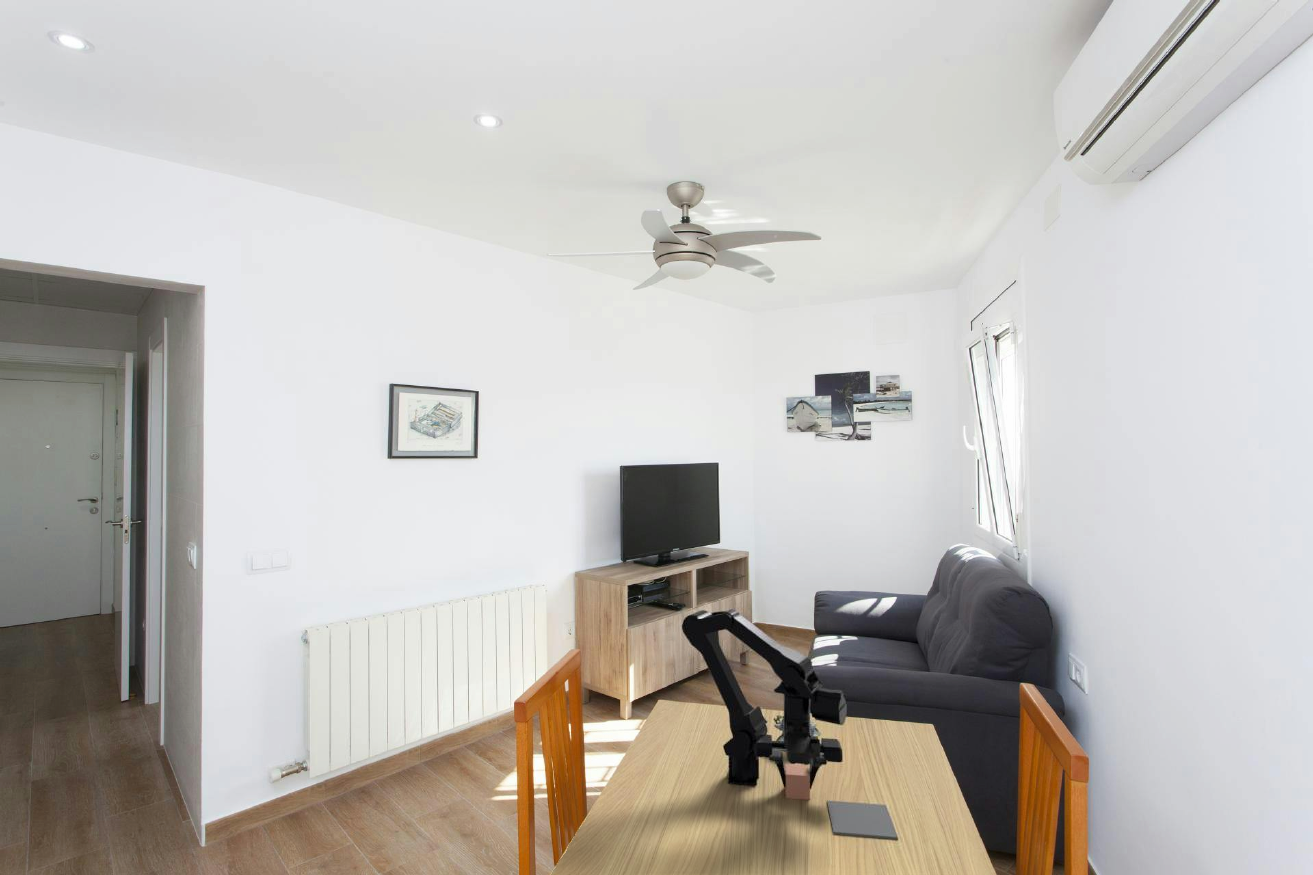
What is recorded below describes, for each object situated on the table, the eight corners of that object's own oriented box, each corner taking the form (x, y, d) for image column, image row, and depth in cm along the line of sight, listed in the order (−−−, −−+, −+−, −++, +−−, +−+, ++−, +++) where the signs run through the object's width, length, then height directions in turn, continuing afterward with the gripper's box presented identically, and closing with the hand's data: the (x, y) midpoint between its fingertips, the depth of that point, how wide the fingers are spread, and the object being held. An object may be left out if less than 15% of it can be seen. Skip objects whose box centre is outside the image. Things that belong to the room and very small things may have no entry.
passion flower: (799, 777, 162) (778, 744, 158) (779, 750, 172) (758, 718, 169) (835, 748, 164) (814, 714, 160) (812, 723, 174) (792, 691, 171)
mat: (833, 833, 128) (833, 831, 128) (827, 802, 140) (827, 800, 140) (898, 839, 126) (898, 837, 126) (885, 806, 138) (885, 804, 138)
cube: (786, 797, 141) (786, 774, 142) (785, 786, 146) (785, 763, 146) (809, 799, 141) (809, 776, 141) (808, 788, 146) (807, 765, 146)
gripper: (753, 727, 137) (754, 802, 137) (845, 732, 135) (846, 810, 134) (753, 707, 149) (754, 777, 148) (838, 712, 146) (839, 783, 145)
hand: (797, 787), depth 144 cm, fingers closed on cube, 5 cm apart
